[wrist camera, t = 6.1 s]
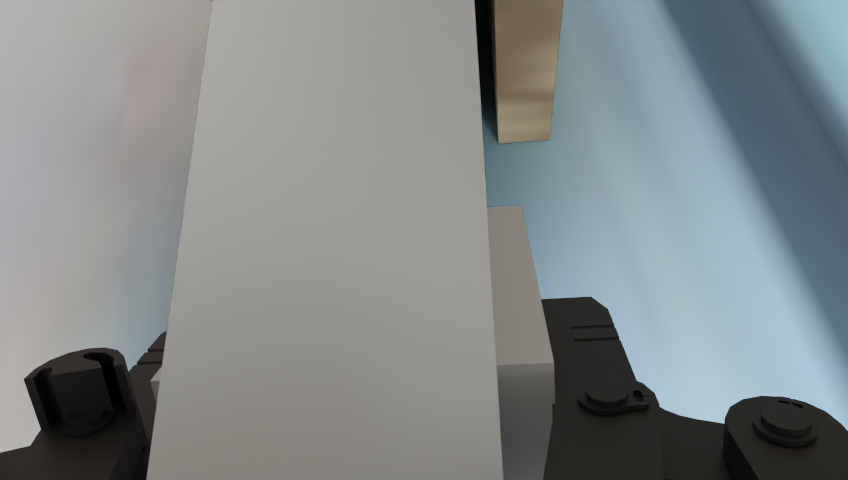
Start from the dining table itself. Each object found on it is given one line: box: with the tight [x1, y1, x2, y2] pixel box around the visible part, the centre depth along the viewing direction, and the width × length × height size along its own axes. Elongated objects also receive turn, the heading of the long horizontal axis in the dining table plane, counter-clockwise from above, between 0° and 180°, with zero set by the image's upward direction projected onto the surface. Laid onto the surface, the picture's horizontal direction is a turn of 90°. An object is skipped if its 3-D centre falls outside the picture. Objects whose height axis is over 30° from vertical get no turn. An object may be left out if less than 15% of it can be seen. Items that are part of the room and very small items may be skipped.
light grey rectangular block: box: [146, 0, 504, 480], centre depth 15 cm, size 4×18×10 cm, turn 1°
